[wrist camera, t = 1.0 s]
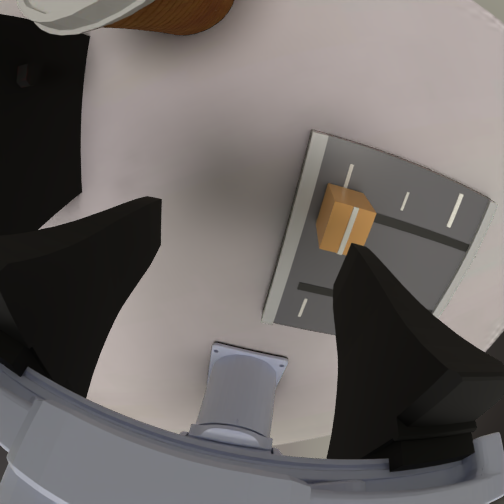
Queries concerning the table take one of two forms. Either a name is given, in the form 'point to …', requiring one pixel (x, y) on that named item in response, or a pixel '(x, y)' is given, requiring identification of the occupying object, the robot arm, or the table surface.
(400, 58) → the table surface
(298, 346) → the table surface
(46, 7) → the disposable coffee cup
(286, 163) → the table surface
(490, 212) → the fader board
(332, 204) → the block
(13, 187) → the uninterruptible power supply
